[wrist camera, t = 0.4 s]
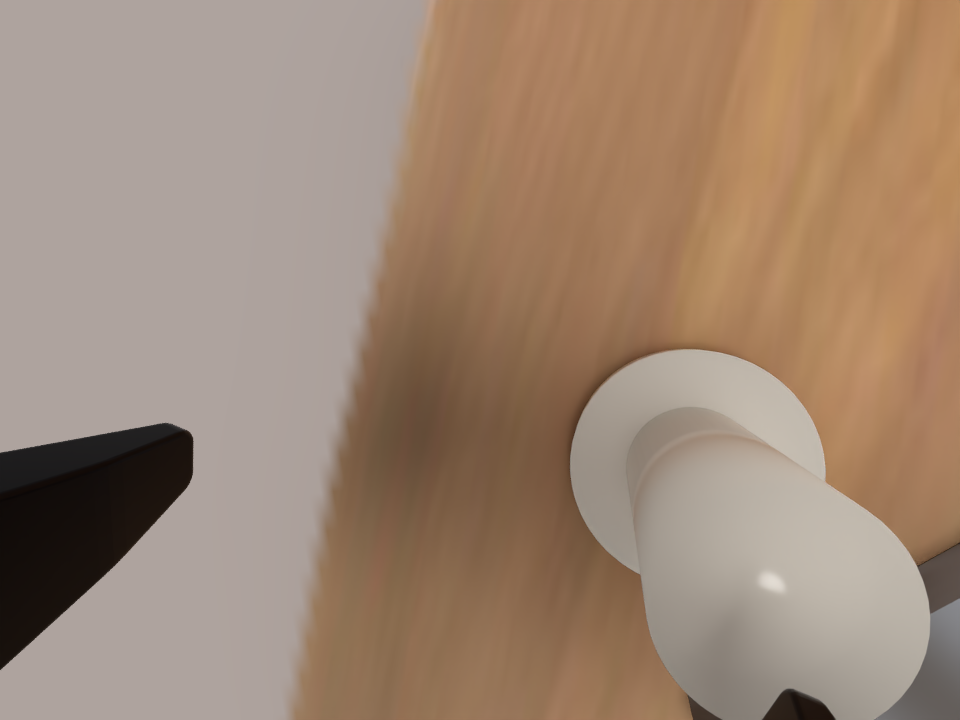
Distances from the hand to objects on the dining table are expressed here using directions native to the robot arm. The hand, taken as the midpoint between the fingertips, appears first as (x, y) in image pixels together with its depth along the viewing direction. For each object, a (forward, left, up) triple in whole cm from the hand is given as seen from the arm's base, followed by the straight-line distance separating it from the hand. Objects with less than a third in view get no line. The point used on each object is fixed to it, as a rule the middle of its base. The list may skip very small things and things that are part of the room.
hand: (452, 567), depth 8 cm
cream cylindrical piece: (+3, -4, -15) cm, 16 cm away
